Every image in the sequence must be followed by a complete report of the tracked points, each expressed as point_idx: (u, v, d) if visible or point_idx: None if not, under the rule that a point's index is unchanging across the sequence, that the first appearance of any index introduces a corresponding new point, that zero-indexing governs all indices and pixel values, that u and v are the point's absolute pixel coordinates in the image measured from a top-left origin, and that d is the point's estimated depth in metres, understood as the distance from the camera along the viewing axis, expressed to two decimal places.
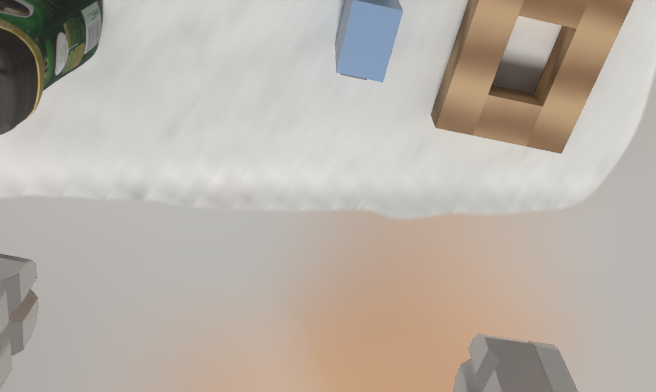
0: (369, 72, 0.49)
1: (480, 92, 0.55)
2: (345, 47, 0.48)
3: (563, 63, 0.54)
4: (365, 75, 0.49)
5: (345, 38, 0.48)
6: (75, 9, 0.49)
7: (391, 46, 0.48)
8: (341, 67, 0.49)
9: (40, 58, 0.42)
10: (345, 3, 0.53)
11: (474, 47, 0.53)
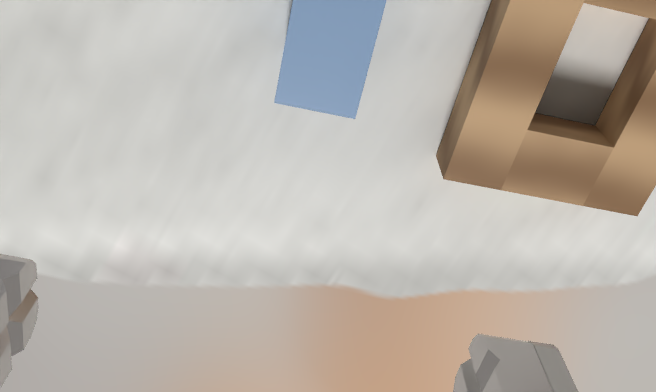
0: (331, 102, 0.29)
1: (515, 125, 0.35)
2: (288, 60, 0.28)
3: (652, 81, 0.33)
4: (324, 107, 0.29)
5: (286, 45, 0.27)
6: None
7: (368, 59, 0.27)
8: (282, 94, 0.28)
9: None
10: None
11: (507, 55, 0.32)
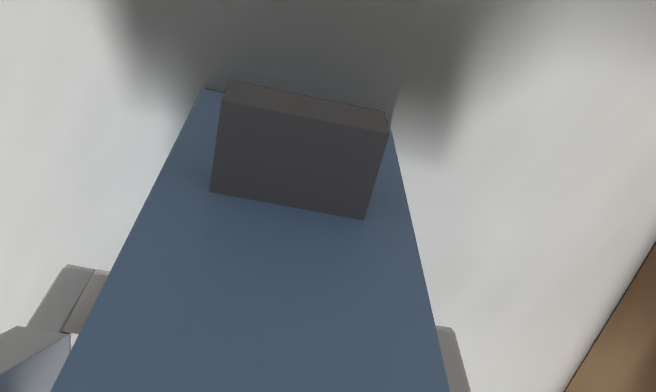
0: None
1: None
2: None
3: None
4: None
5: None
6: None
7: None
8: None
9: None
10: None
11: None
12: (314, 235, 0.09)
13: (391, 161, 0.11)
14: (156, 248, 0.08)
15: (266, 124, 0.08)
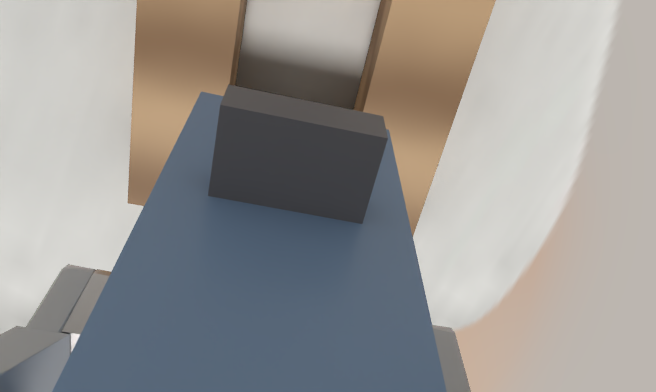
0: None
1: None
2: None
3: (379, 64, 0.23)
4: None
5: None
6: None
7: None
8: None
9: None
10: None
11: (161, 27, 0.23)
12: (312, 239, 0.09)
13: (389, 164, 0.11)
14: (155, 254, 0.08)
15: (265, 128, 0.08)
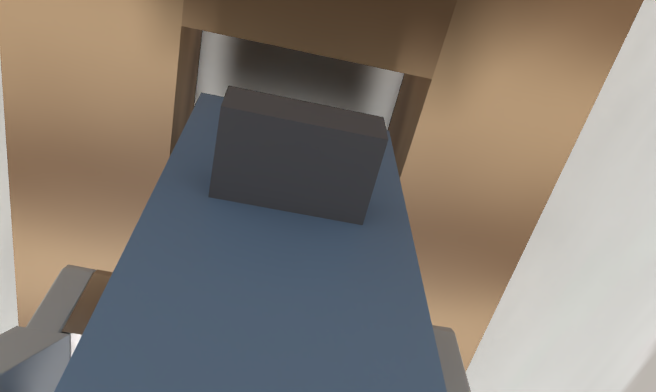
0: None
1: None
2: None
3: None
4: None
5: None
6: None
7: None
8: None
9: None
10: None
11: (48, 146, 0.14)
12: (312, 240, 0.09)
13: (390, 165, 0.11)
14: (156, 254, 0.08)
15: (265, 130, 0.08)
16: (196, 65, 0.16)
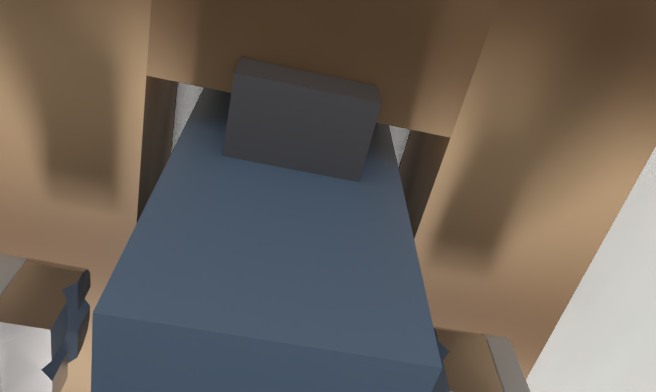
0: None
1: None
2: None
3: None
4: None
5: None
6: None
7: None
8: None
9: None
10: None
11: None
12: (315, 192, 0.10)
13: (384, 135, 0.12)
14: (179, 199, 0.09)
15: (273, 95, 0.10)
16: (172, 110, 0.13)
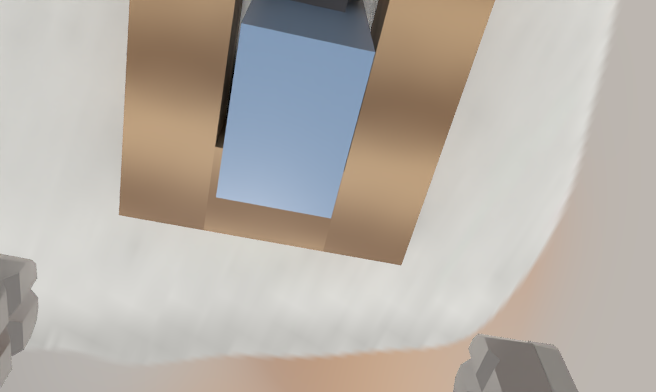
0: (297, 196, 0.20)
1: (195, 140, 0.25)
2: (233, 141, 0.19)
3: (373, 77, 0.23)
4: (288, 203, 0.20)
5: (230, 120, 0.19)
6: None
7: (348, 139, 0.19)
8: (227, 186, 0.20)
9: None
10: None
11: (153, 38, 0.22)
12: (323, 12, 0.20)
13: (360, 2, 0.23)
14: (262, 5, 0.19)
15: None
16: None
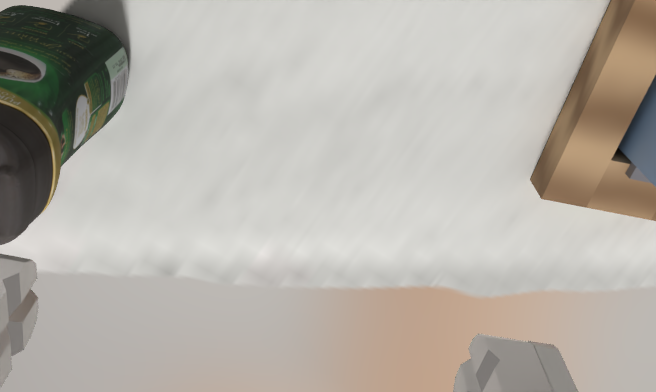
0: None
1: (601, 157, 0.44)
2: None
3: None
4: None
5: None
6: (98, 62, 0.38)
7: None
8: None
9: (56, 140, 0.31)
10: None
11: (600, 103, 0.42)
12: None
13: None
14: None
15: None
16: None
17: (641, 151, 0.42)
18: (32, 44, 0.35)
